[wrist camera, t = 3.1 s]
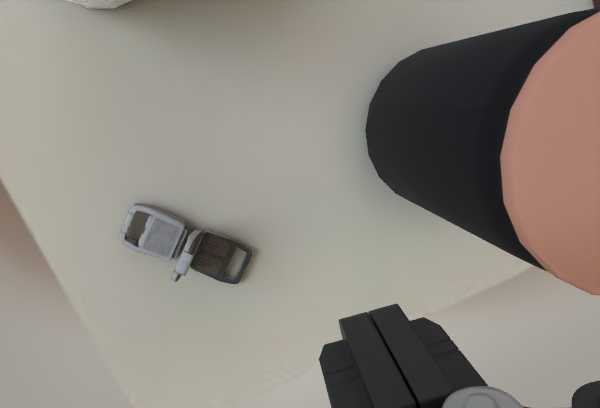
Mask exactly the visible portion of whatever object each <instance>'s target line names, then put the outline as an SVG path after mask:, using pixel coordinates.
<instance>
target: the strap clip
mask: <svg viewBox="0 0 600 408" xmlns="http://www.w3.org/2000/svg"><path fill="white" fill-rule="evenodd" d="M136 211H141V212H145V213H148V214H150V216H149V218H148V221H147V223H146V225H145V228H144V230H143V232H142V235H141V237H140V239H139V242H137V241H134V240H132V239H130V238H128V237H127V236H126V235H127V231H128V229H129V227H130V224H131V222H132V219H133V217H134V215H135V212H136ZM185 224H186V223H185V221H183V220H181V219H179V218H177V217H175V216H173V215H171V214H168V213H166V212H164V211H162V210H160V209H158V208H156V207H153V206H149V205H144V204H135V205H133V207H132V208H131V210H130V211H129V213H128V216H127V218H126V221H125V223H124V225H123V228H122V230H121V234H120V236H119V239H120V241H121V242H122V243H123V244H124V245H126V246H127V247H129V248H131V249H132V250H134V251H137V252H140V253H143V254H146V255H150V256H153V257H156V258H159V259H162V260H165V261H169V260H170V259H171V258H174V259H175V258H176V256H177V254H178V251H179V249H180V247H181V245H182V242H183V240H184V238H185V236H186V233H187V231H188V227H186V226H185ZM202 232H203V231H201V230H198V229H195V230H194V231H193V232H192V233H191V234H190V235H189V237H188V240H187V243H186V245H185V247H184V249H183V252H182V254H181V256H180V259H179V261H178V263H177V265H176V268H175V270H174V271H173V273H172V277H171V279H172V280H173V281H175V282H177V281H178V280H179V278H180V277H181V275H186V273H187V271H188V268H189V266H190V267H191V268H192V269H194V270H196V271H198V272H200V273H203V274H205V275H207V276H209V277H212V278H214V279H216V280H218V281H221V282H225V283H230V284H237V283H239V282H240V280H241V278H242V276H243V273H244V271H245V269H246V267H247V265H248V263H249V261H250V258H251V256H252V251H251V249H250V248H249V247H247V246H246V245H244V244H242V243H241V242H239V241H237V240H234V239H231V238H228V237H225V236H222V235H219V234H216V233H213V232H210V231H205V232H204V234H202ZM236 247H238V248H240V249H242V250H243V251H245V252H246V253H247V254H246V256H245V259H244V261H243V263H242V265H241V267H240V269H239V272H238V274H237V276H236V277H235V278H232V277H228V276H225V275H224V272H225V270H226V268H227V266H228V264H229V261H230V259H231V257H232V255H233V253H234V250H235V248H236Z"/></svg>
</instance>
